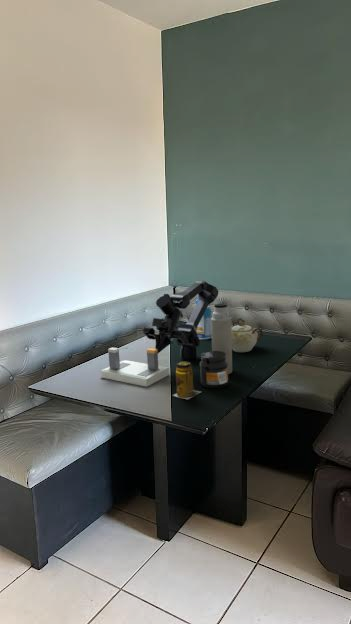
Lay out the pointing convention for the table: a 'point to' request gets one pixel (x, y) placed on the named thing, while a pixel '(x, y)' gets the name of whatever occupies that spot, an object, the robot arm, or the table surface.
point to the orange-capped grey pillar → (152, 358)
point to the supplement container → (214, 369)
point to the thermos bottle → (222, 332)
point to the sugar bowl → (244, 337)
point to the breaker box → (135, 373)
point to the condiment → (185, 381)
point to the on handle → (114, 358)
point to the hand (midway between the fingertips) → (156, 353)
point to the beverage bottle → (205, 325)
